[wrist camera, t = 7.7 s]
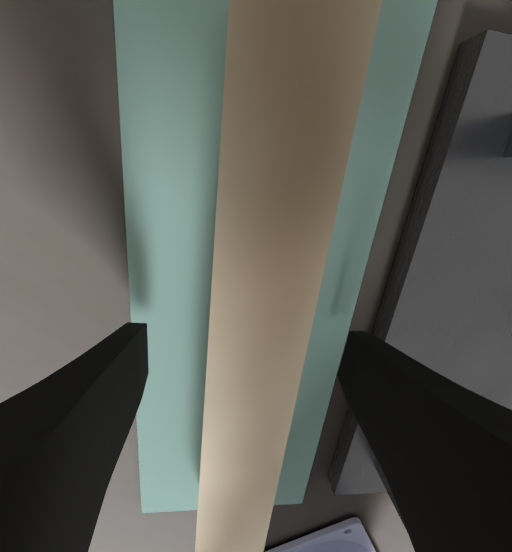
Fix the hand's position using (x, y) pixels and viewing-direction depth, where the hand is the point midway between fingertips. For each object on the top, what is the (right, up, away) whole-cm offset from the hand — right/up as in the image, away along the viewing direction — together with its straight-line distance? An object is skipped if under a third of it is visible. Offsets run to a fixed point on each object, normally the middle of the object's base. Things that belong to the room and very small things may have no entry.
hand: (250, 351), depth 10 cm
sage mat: (0, +1, +2) cm, 2 cm away
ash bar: (0, +1, +2) cm, 2 cm away
